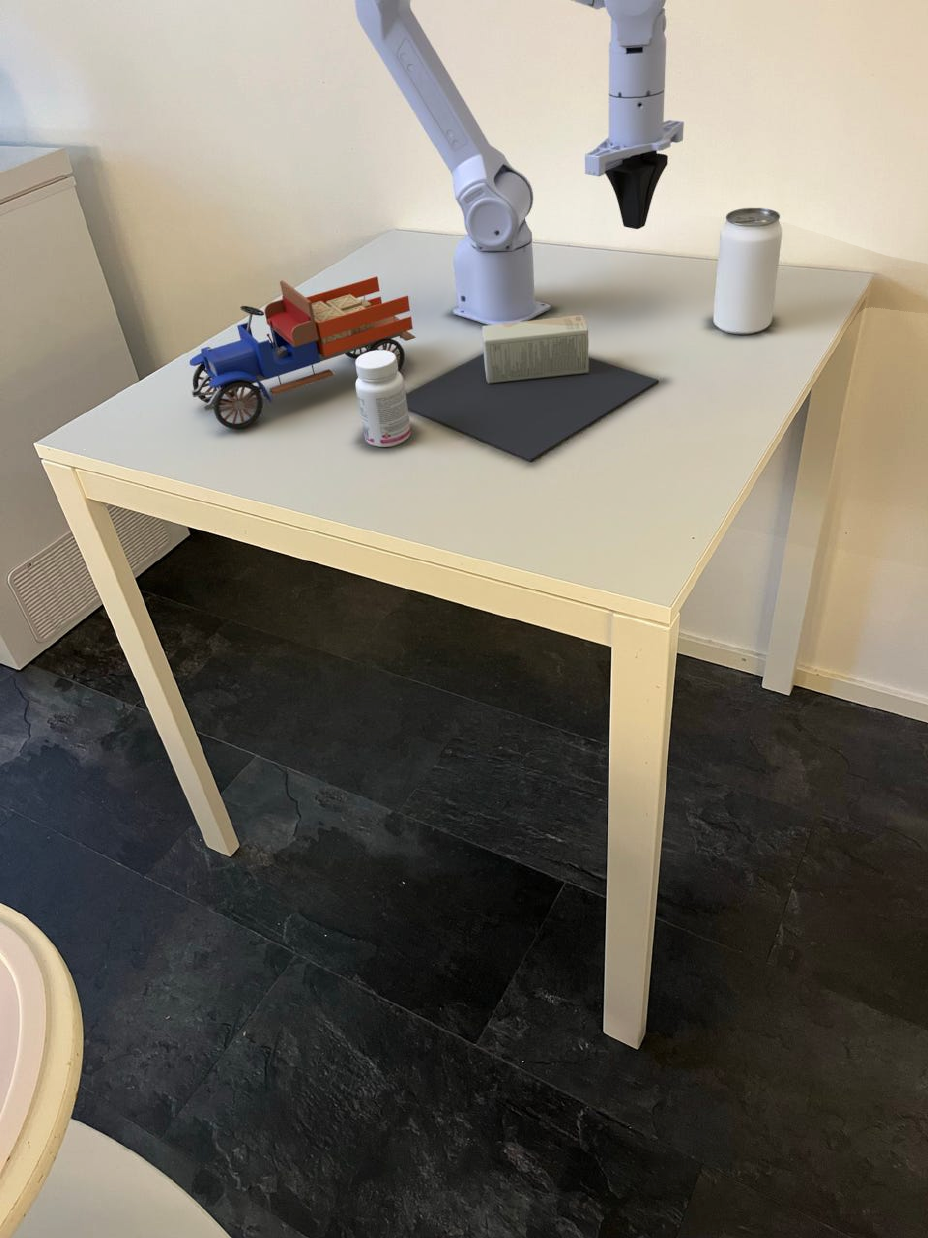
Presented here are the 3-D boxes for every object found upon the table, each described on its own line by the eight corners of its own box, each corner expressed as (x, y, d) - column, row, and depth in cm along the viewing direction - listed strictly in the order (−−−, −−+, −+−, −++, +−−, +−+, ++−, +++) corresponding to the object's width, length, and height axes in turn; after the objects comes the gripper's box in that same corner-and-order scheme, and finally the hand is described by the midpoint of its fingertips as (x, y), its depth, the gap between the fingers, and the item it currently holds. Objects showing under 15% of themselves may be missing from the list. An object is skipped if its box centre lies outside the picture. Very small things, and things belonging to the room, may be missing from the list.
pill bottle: (418, 426, 98) (407, 349, 93) (401, 450, 95) (389, 371, 90) (375, 422, 100) (363, 346, 94) (357, 446, 97) (343, 368, 91)
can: (772, 335, 107) (786, 225, 99) (712, 335, 108) (721, 226, 101) (770, 311, 112) (783, 205, 104) (712, 312, 113) (721, 206, 105)
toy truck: (192, 409, 106) (163, 313, 99) (392, 344, 114) (379, 250, 107) (217, 440, 100) (188, 339, 93) (426, 368, 109) (414, 271, 101)
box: (583, 313, 103) (481, 322, 103) (589, 329, 100) (483, 338, 100) (583, 359, 107) (484, 367, 107) (588, 376, 103) (486, 385, 103)
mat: (392, 403, 103) (392, 400, 103) (519, 336, 113) (519, 334, 113) (530, 462, 91) (530, 459, 91) (658, 382, 101) (658, 379, 101)
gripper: (623, 112, 93) (621, 252, 102) (710, 78, 100) (701, 212, 109) (568, 105, 97) (571, 241, 106) (655, 73, 105) (651, 202, 113)
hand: (634, 225), depth 108 cm, fingers closed
